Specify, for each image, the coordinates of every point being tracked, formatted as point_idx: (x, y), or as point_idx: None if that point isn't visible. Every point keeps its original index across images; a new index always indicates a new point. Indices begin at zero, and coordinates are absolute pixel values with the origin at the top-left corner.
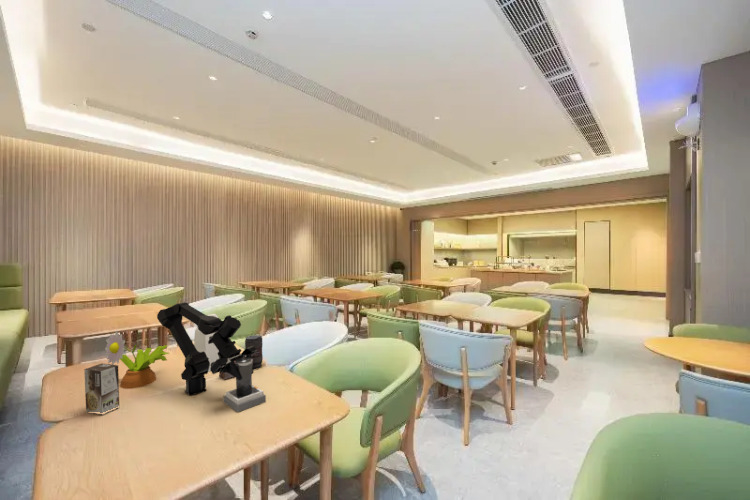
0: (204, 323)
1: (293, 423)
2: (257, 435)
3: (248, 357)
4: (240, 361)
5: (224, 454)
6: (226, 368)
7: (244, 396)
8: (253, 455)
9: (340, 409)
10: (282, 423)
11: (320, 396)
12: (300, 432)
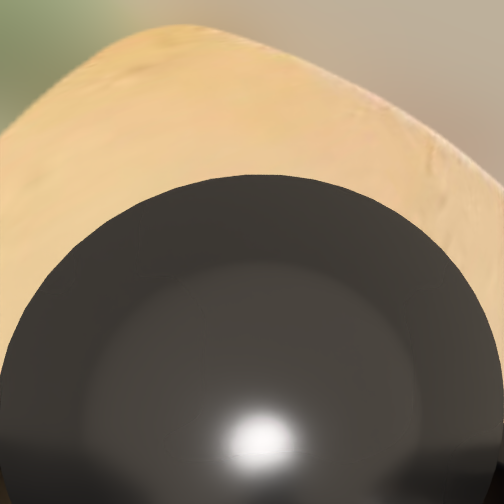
0: None
1: (294, 91)
2: (394, 158)
3: (6, 437)
4: (466, 402)
5: (471, 198)
6: None
7: None
8: (436, 138)
9: (175, 29)
10: (310, 116)
11: (84, 84)
12: (322, 72)
